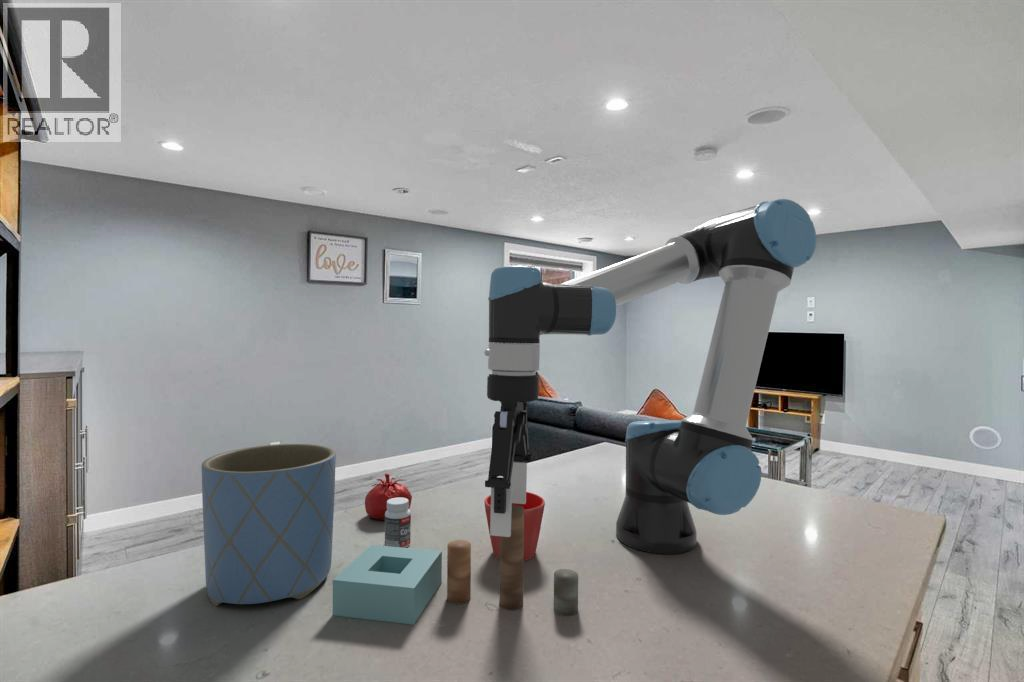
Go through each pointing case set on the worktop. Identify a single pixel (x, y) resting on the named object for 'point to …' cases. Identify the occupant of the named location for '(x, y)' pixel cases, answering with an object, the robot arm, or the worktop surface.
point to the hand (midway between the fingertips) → (509, 517)
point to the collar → (388, 584)
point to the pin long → (512, 562)
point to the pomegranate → (384, 497)
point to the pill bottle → (397, 523)
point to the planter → (267, 522)
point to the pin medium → (458, 571)
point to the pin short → (566, 592)
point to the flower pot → (531, 524)
